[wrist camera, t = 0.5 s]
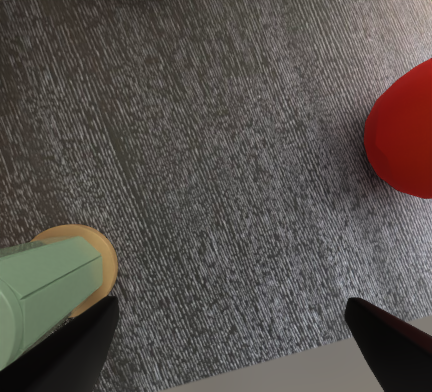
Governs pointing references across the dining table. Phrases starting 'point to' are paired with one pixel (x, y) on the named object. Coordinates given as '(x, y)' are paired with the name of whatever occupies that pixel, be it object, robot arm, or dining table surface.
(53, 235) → the holder
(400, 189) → the tomato
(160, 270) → the dining table surface
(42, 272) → the sage cup
